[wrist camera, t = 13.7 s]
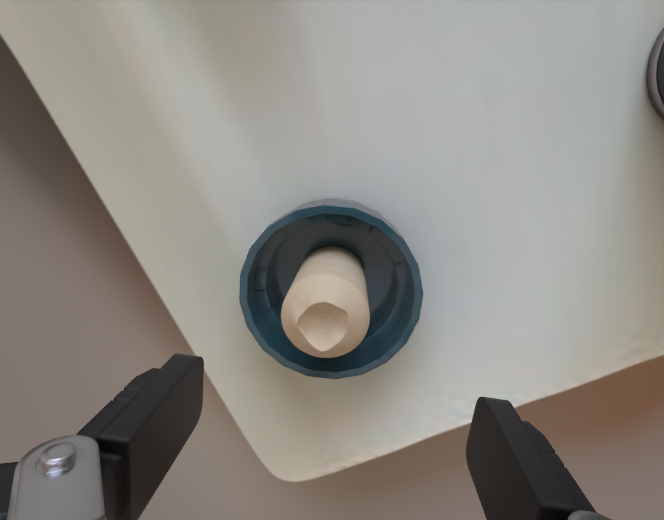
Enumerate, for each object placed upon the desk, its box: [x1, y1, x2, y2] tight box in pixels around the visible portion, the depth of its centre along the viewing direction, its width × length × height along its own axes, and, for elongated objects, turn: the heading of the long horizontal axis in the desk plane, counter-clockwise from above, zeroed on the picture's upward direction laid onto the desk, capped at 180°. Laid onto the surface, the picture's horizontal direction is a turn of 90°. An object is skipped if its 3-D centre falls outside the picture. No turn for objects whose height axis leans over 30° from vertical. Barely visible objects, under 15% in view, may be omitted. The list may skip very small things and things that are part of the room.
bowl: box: [239, 199, 423, 379], centre depth 30 cm, size 13×13×5 cm
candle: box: [281, 246, 370, 358], centre depth 27 cm, size 6×6×10 cm
